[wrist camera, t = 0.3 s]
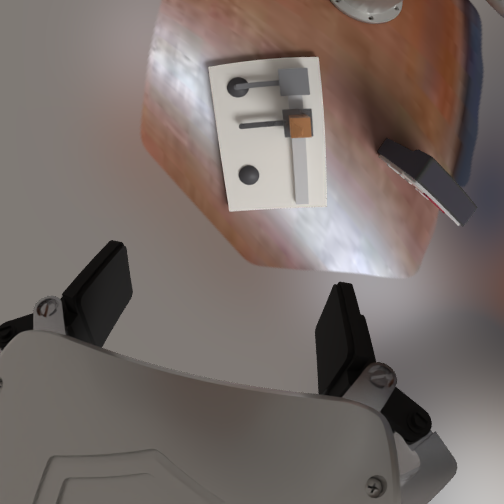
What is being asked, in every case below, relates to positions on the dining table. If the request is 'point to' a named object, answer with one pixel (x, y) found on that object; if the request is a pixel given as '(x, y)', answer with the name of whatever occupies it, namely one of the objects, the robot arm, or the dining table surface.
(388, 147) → the calculator
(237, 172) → the gauge board
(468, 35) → the dining table surface
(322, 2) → the dining table surface
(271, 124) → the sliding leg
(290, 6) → the dining table surface
